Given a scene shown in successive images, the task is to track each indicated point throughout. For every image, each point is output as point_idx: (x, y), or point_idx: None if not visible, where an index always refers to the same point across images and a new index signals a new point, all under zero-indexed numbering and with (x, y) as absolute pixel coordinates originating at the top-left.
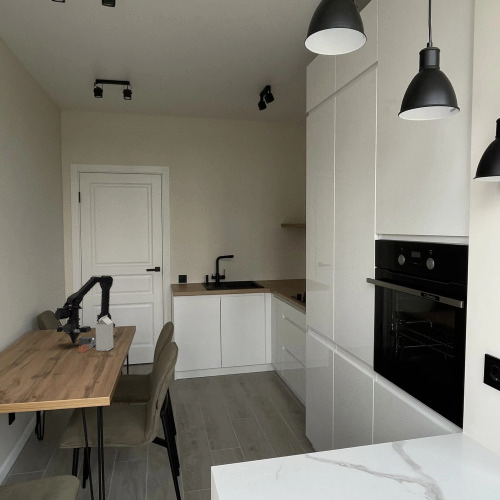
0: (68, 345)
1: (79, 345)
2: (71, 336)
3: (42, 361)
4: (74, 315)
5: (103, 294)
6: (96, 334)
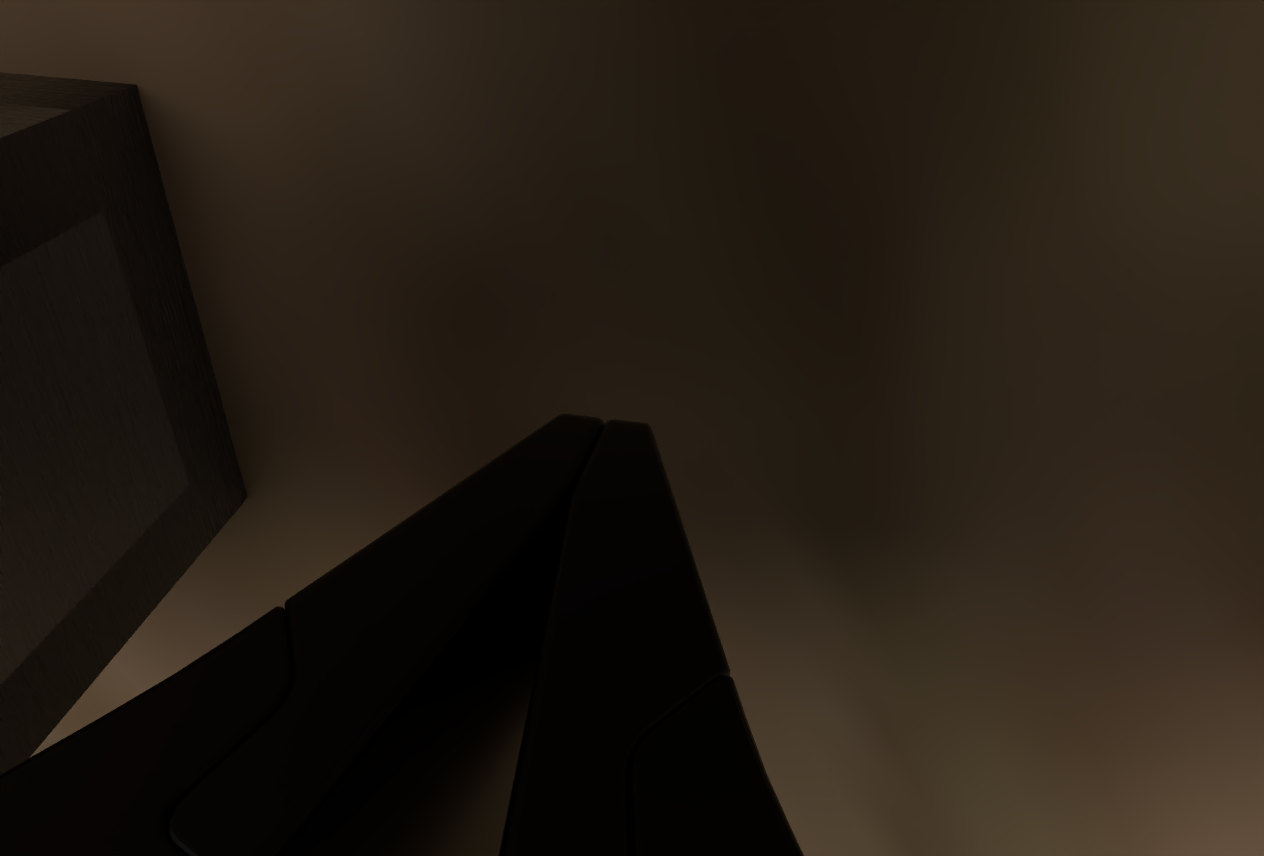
0: (957, 391)
1: (47, 105)
2: (582, 835)
3: None
4: None
5: None
6: None
